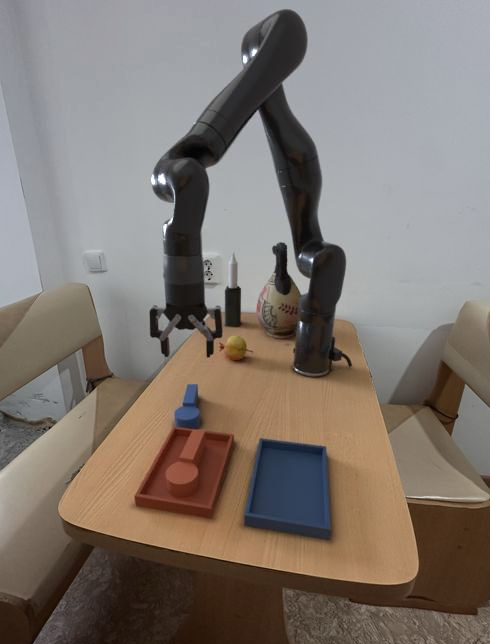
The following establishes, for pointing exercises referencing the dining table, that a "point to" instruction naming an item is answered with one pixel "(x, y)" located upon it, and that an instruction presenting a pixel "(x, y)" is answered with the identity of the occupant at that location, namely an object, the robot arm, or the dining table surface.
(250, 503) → the blue tray
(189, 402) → the blue scoop
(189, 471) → the terracotta scoop
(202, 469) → the terracotta tray
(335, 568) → the dining table surface
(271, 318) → the ceramic jug
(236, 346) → the fruit
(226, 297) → the candle
